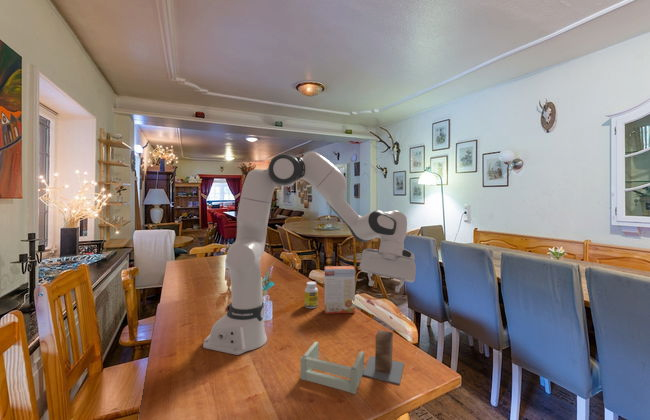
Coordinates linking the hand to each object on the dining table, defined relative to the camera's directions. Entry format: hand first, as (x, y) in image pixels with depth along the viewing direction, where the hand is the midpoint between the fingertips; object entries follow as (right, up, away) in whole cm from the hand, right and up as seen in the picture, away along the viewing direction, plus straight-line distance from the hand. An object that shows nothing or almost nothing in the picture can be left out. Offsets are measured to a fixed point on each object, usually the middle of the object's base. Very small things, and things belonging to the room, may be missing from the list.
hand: (383, 288), depth 103 cm
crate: (-19, -22, -16) cm, 33 cm away
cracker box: (-14, -20, +32) cm, 40 cm away
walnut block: (-3, -22, -13) cm, 25 cm away
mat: (-3, -22, -13) cm, 26 cm away
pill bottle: (-28, -19, +37) cm, 50 cm away
